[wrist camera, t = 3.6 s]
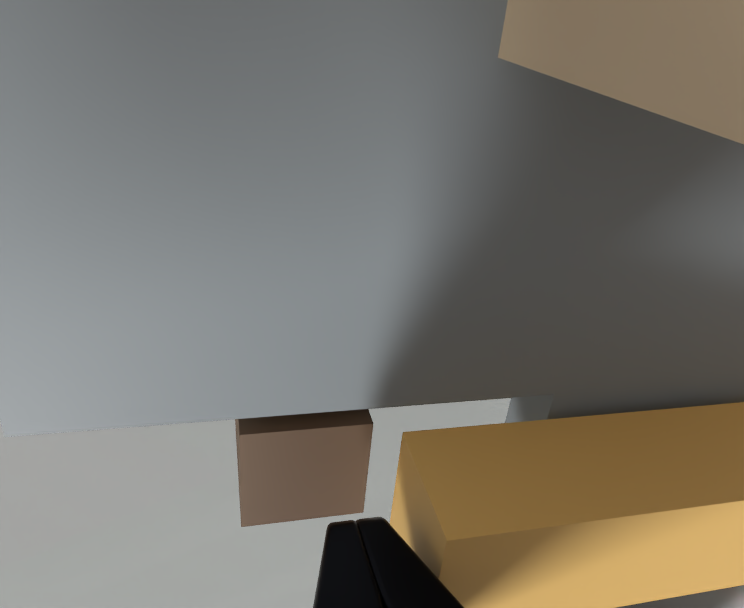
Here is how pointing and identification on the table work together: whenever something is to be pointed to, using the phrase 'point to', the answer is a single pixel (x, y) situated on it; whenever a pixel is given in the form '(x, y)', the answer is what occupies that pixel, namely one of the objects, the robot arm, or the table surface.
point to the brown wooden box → (302, 465)
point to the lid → (367, 208)
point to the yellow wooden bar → (578, 507)
